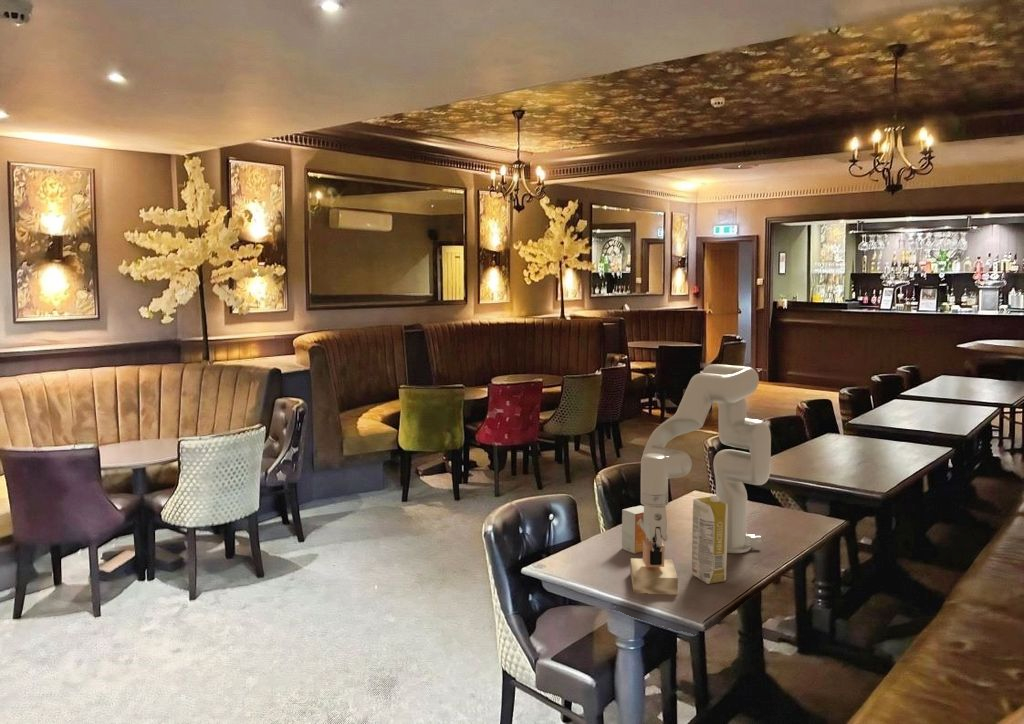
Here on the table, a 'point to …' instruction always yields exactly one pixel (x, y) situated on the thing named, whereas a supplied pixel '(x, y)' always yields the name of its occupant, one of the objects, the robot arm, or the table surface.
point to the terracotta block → (647, 554)
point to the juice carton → (709, 539)
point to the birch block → (653, 578)
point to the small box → (633, 529)
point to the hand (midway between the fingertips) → (653, 560)
